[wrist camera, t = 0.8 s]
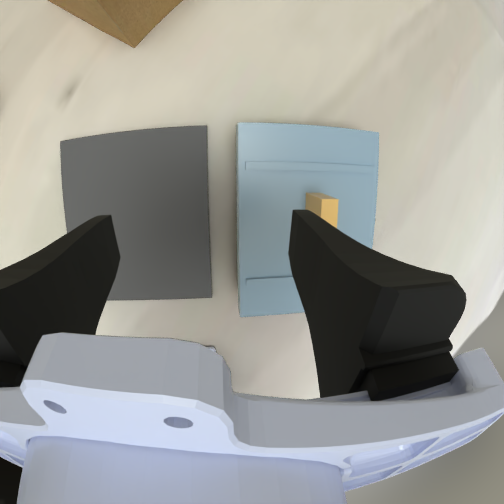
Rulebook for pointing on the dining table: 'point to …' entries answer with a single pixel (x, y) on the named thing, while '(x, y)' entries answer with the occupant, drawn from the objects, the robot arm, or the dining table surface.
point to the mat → (145, 206)
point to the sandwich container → (120, 16)
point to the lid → (296, 201)
